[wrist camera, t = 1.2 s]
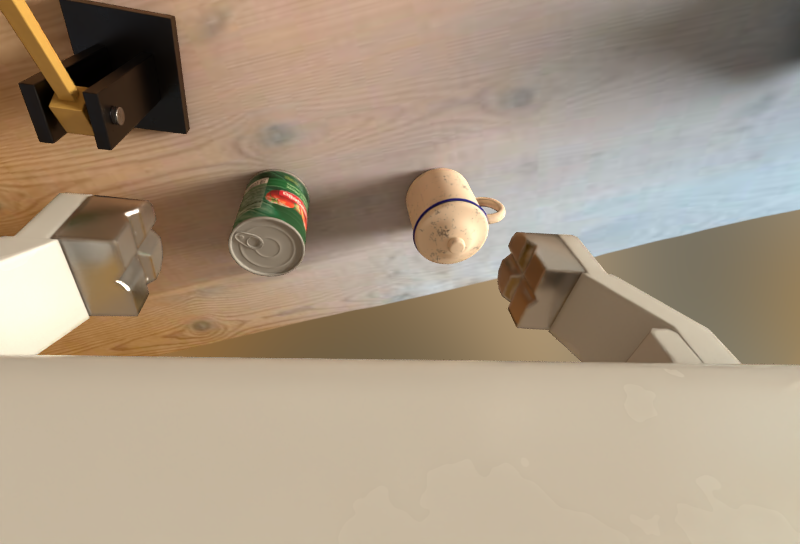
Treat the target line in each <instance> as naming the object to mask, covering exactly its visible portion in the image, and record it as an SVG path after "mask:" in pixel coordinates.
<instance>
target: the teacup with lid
mask: <svg viewBox="0 0 800 544" xmlns="http://www.w3.org/2000/svg"><path fill="white" fill-rule="evenodd" d="M406 205H407V209H408V213H409V217H410V221H411V225H412V229H413V240H414V244H415V246H416V248H417V250H418V251H419V252H420V253H421V254H422V255H423V256H424V257H425V258H427V259H428V260H430V261H432V262H435V263H440V264H453V263H457V262H461V261H463V260H466V259H467V258H469V257H471V256H472V255H474V254H475V253H476V252H477V251H478V250H479V249H480V248H481V247H482V245H483V244H484V242H485V240H486V238H487V235H488V228H489V224H492V223H496V222H499V221H500V220H502V219H503V218H504V216H505V208H504V206H503V205H502V204H501V203H500V202H499V201H497V200H495V199H492V198H487V197H478V198H475V197H474V195H473V193H472V191H471V189H470V187H469V185H468V183H467V181H466V180H465V178H464V177H463V176H462V175H461V174H459V173H458V172H456V171H454V170H451V169H445V168H438V169H432V170H429V171H427V172H425V173H423V174H421V175H420V176H419V177H417V178H416V179H415V180H414V181H413V183H412V184H411V186H410V187H409V189H408V192H407V196H406ZM481 206H484V207H490V208H492V209H494V210H496V211H497V212H496V213H493V214H488V215H486V213H485V211H484V210H483V209H482V208H481Z"/></svg>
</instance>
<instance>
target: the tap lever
mask: <svg viewBox="0 0 800 544" xmlns="http://www.w3.org/2000/svg"><path fill="white" fill-rule="evenodd" d="M0 10H1V11H2V13H3V14H4V16H5V17H6V19H7V20H8V22H9V23H10V25H11V26H12V28H13V30H14V31H15V33H16V34H17V36H18V37H19V39H20V40H21V42H22V43H23V45H24V46H25V48H26V49H27V51H28V52H29V54H30V55H31V57H32V58H33V60H34V62H35V63H36V65H37V66H38V68H39V69H40V71H41V72H42V74H43V75H44V77H45V78H46V80H47V81H48V83H49V84H50V86H51V87H52V89H53V90H54V95H53V97H52V99H51V102H50V104H49V108H50V109H51V111H52V112H53V114H54V115H55V116H56V118H57V119H58V121H59V122H60V124H61V125H62V126H63V128H64V129H65V131H66V132H67V133H74V134H82V135H90V136H94V133H93V129H92V126H91V122H90V118H89V115H88V111H87V108H86V104H85V101H84V97H83V93H82V92H83V91H85V90H86V89H88V88H87V87H80V86H75V85H74V83H73V81H72V80H71V78H70V76H69V75H68V73H67V71H66V70H65V68H64V66H63V65H62V63H61V61H60V59H59V58H58V56H57V54H56V53H55V51H54V49H53V48H52V46H51V44H50V43H49V41H48V39H47V37H46V36H45V34H44V32H43V31H42V29H41V27H40V26H39V24H38V22H37V21H36V19H35V17H34V15H33V14H32V12H31V10H30V9H29V7H28V5H27V4H26V2H25V0H0Z"/></svg>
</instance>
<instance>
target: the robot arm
mask: <svg viewBox="0 0 800 544" xmlns="http://www.w3.org/2000/svg"><path fill="white" fill-rule="evenodd" d="M155 221H156V215H155V211H154V208H153V205H152V204H151V203H150V202H149V201H148V200H138V199H128V198H119V197H109V196H99V195H91V194H78V193H59V194H58V195H57V196H56V197H55V198H54V199H53V200H52V201H51V202H50V203H49V204H48V205H47V206H46V207H44V208H43V209H42V210H41V211H40V212H39V213H38V214H37V215H36V216H35V217H34V218H33V219H32V220H31V221H30V222H29V223H28V224H27V225H25V226H24V227H23V228H22V229H21V230H20V231H19V232H18V233H17V234H16V235H15V236H14V237H13V236H2V237H0V544H800V365H782V364H741V363H740V362H739V361H738V360H737V359H736V358H735V357H734V356H733V355H732V353H731V352H730V351H729V350H728V349H727V348H726V347H725V346H724V345H723V344H722V343H721V342H720V341H719V340H718V338H717V337H716V336H715V335H714V334H713V333H712V332H711V331H710V330H709V329H707V328H706V327H704V326H702V325H700V324H699V323H697V322H695V321H693V320H692V319H690V318H688V317H686V316H685V315H683V314H681V313H679V312H678V311H676V310H674V309H672V308H671V307H669V306H667V305H665V304H664V303H662V302H660V301H658V300H657V299H655V298H653V297H651V296H650V295H648V294H646V293H644V292H643V291H641V290H639V289H637V288H635V287H634V286H632V285H630V284H628V283H627V282H625V281H623V280H621V279H620V278H618V277H616V276H614V275H610V274H607V273H606V272H605V271H604V269H603V268H602V267H601V266H600V264H599V263H598V262H597V261H596V259H595V258H594V257H593V256H592V255H591V253H590V252H589V251H588V250H587V248H586V247H585V246H584V245H583V243H582V242H581V241H580V240H579V238H578V237H576V236H573V235H562V234H542V233H524V232H516V233H515V234H514V236H513V237H512V238H511V241H510V243H509V245H508V247H509V250H510V252H511V254H510V255H508V256H507V257H506V258H505V259H503V260H502V262H501V265H500V268H499V271H498V287H499V290H500V293H501V295H502V296H503V297H504V298H505V299H507V300H508V301H509V302H510V305H509V307H508V310H509V312H510V314H511V316H512V318H513V321H514V323H515V325H516V327H517V328H525V329H526V328H527V329H543V330H544V329H545V330H549V332H550V333H551V334H552V335H553V336H554V337H555V338H556V339H557V340H558V341H559V342H561V343H562V344H563V345H564V346H565V347H566V348H567V349H568V350H569V351H570V352H572V353H573V354H574V355H575V356H576V357H577V358H578V359H579V360H580V361H581V362H540V361H466V360H383V359H302V358H298V359H297V358H225V357H149V356H72V355H37V354H39V353H40V352H41V351H43V350H44V349H46V348H47V347H49V346H50V345H52V344H53V343H54V342H56V341H57V340H59V339H60V338H62V337H63V336H64V335H66V334H67V333H69V332H70V331H72V330H73V329H74V328H76V327H77V326H79V325H80V324H82V323H83V322H84V321H86V320H87V319H89V316H138V314H139V312H140V310H141V308H142V307H143V305H144V303H145V301H146V299H147V297H148V295H149V291H148V287H147V284H149V283H151V282H153V281H154V280H156V279H157V277H158V275H159V273H160V270H161V265H162V260H163V248H162V242H161V237H160V236H159V235H158V234H157V233H155V232H154V231H153V230H152V229H151V228H152V226H153V225H154V223H155Z"/></svg>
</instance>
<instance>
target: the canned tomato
mask: <svg viewBox="0 0 800 544" xmlns="http://www.w3.org/2000/svg"><path fill="white" fill-rule="evenodd" d="M309 203H310V198H309V193H308V190H307V188H306V186H305V185H304V183H303V182H302V181H301V180H300V179H299V178H298V177H296V176H295V175H293V174H291V173H289V172H286V171H283V170H265V171H262V172H260V173H258V174H256V175H255V176H254V177H253V178H252V179H251V180H250V181H249V183H248V184H247V187H246V191H245V194H244V196H243V199H242V202H241V205H240V208H239V211H238V214H237V217H236V220H235V223H234V226H233V229H232V232H231V234H230V236H229V240H228V247H229V251H230V254H231V256H232V258H233V259H234V260H235V261H236V263H237V264H239V265H240V266H241V267H242V268H244V269H245V270H247V271H249V272H251V273H254V274H257V275H261V276H280V275H284V274H287V273H289V272H291V271H293V270H294V269H295V268H296V267H298V266H299V264H300V263H301V262H302V260H303V257H304V253H305V242H306V241H305V240H306V231H307V220H308V210H309Z"/></svg>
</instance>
